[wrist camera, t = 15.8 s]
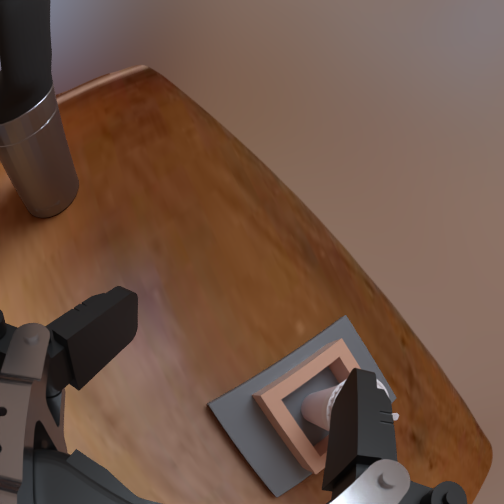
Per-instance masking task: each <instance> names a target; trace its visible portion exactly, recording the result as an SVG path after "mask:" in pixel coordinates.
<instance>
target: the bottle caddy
mask: <svg viewBox="0 0 504 504" xmlns="http://www.w3.org/2000/svg"><path fill="white" fill-rule="evenodd" d="M353 368H358V369H363V370H367V371H371V372H375V374H376V379H377V380H379V381H380V382H381V383H382V384H383V385H384V387H385V388H386V390H387V392H388V395H389V399H390V400H391V403H392V402H393V401H394V400H395V399H396V396H395V395H394V393H393V391H392V390H391V388H390V386H389V384H388V383H387V381H386V379H385V378H384V376H383V374H382V373H381V371H380V369H379V368H378V366H377V364H376V363H375V361H374V359H373V358H372V356H371V355H370V353H369V351H368V350H367V348H366V346H365V345H364V343H363V342H362V340H361V338H360V337H359V335H358V334H357V332H356V330H355V329H354V327H353V326H352V324H351V322H350V321H349V319H348V318H347V316H346V315H345V316H343V317H341V318H339V319H338V320H337V321H335V322H334V323H333V324H331V325H330V326H329V327H327V328H326V329H324V330H323V331H322V332H320V333H319V334H317V335H316V336H315V337H313V338H312V339H310V340H309V341H307V342H306V343H305V344H303V345H302V346H300V347H299V348H297V349H296V350H294V351H293V352H291V353H290V354H288V355H287V356H285V357H284V358H282V359H281V360H279V361H278V362H276V363H274V364H273V365H271V366H270V367H268V368H267V369H265V370H263V371H262V372H260V373H259V374H257V375H255V376H254V377H252V378H250V379H249V380H247V381H245V382H244V383H242V384H240V385H239V386H237V387H235V388H234V389H232V390H230V391H228V392H227V393H225V394H223V395H221V396H220V397H218V398H216V399H214V400H213V401H211V402H209V403H207V404H208V406H209V407H210V409H211V410H212V412H213V413H214V415H215V416H216V418H217V419H218V421H219V422H220V424H221V425H222V427H223V428H224V430H225V431H226V433H227V434H228V436H229V437H230V438H231V440H232V441H233V443H234V444H235V445H236V447H237V448H238V450H239V451H240V452H241V454H242V455H243V456H244V458H245V459H246V460H247V462H248V463H249V464H250V466H251V467H252V468H253V470H254V471H255V472H256V474H257V475H258V476H259V477H260V479H261V480H262V481H263V482H264V484H265V485H266V486H267V487H268V489H269V490H270V491H271V492H272V493H273V494H274V495H275V496H276V497H279V496H280V495H282V494H283V493H285V492H286V491H288V490H289V489H291V488H292V487H294V486H295V485H297V484H298V483H300V482H301V481H303V480H304V479H305V478H307V477H308V476H310V475H311V474H312V473H314V474H317V473H319V472H320V471H321V470H323V469H324V468H325V463H326V455H327V447H328V438H329V431H327V430H325V429H323V428H321V427H319V426H317V425H315V424H313V423H311V422H309V421H307V420H306V419H305V418H304V417H303V415H302V413H301V405H302V402H303V400H304V399H305V398H306V397H307V396H308V395H309V394H311V393H315V392H318V391H321V390H324V389H328V388H331V387H334V386H337V385H339V384H340V383H342V382H343V381H344V380H346V379H347V378H348V376H349V374H350V372H351V371H352V369H353Z"/></svg>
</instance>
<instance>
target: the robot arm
mask: <svg viewBox="0 0 504 504" xmlns="http://www.w3.org/2000/svg"><path fill="white" fill-rule="evenodd" d="M51 50H52V49H51V37H50V0H0V61H1V71H0V161H1V163H2V165H3V167H4V169H5V171H6V173H7V175H8V176H9V178H10V180H11V182H12V184H13V186H14V187H15V189H16V191H17V193H18V194H19V196H20V198H21V200H22V201H23V203H24V205H25V206H26V208H27V209H28V211H29V212H30V213H31V214H32V215H34V216H36V217H40V218H46V217H51V216H54V215H56V214H58V213H60V212H61V211H63V210H64V209H65V208H67V207H68V206H69V205H70V203H71V202H72V201H73V199H74V198H75V196H76V194H77V191H78V187H79V180H78V177H77V174H76V171H75V168H74V164H73V161H72V157H71V154H70V151H69V147H68V144H67V140H66V137H65V133H64V129H63V125H62V121H61V117H60V113H59V109H58V104H57V100H56V96H55V91H54V86H53V80H52V75H51V58H52V51H51ZM137 327H138V296H137V294H136V293H134V292H132V291H130V290H128V289H125V288H123V287H121V286H117V287H115V288H113V289H112V290H110V291H109V292H107V293H106V294H105V293H102V294H98V295H95V296H91V297H90V298H88V299H87V300H85V301H84V302H82V304H79V305H77V306H76V307H74V309H71V310H70V311H68V312H67V313H65V314H64V315H62V316H60V317H59V318H57V319H56V320H54V321H53V322H51V323H50V324H48V325H47V326H43V325H41V324H38V323H28V324H25V325H22V326H20V327H19V328H17V327H14V326H12V325H9V324H6V323H5V320H4V316H3V313H2V311H1V310H0V504H161V503H157V502H153V501H149V500H145V499H142V498H139V497H137V496H136V495H134V494H133V493H132V492H131V491H130V490H129V489H127V488H126V487H125V486H124V485H123V484H122V483H121V482H120V481H118V480H117V479H116V478H115V477H114V476H113V475H112V474H111V473H110V472H109V471H108V470H107V469H105V468H104V467H102V466H101V465H99V464H97V463H96V462H94V461H93V460H91V459H90V458H88V457H87V456H86V455H84V454H83V453H81V452H80V451H78V450H77V449H76V450H75V451H74V452H73V453H72V455H70V454H68V453H67V447H66V443H65V439H64V407H65V387H66V386H67V385H68V384H70V385H72V386H73V387H75V388H76V389H77V390H80V389H81V388H82V387H83V386H85V385H86V384H87V383H88V382H89V381H90V380H91V379H92V378H93V377H94V376H95V375H96V374H97V373H98V372H99V371H100V370H101V369H102V368H103V367H105V366H106V365H107V364H108V363H109V362H110V361H111V360H112V359H113V358H114V357H115V356H116V355H117V354H118V353H119V352H120V351H121V350H123V349H124V348H125V347H126V346H127V345H128V344H129V343H130V342H131V341H132V340H133V338H134V337H135V335H136V332H137ZM393 423H394V422H393V415H392V406H391V400H390V399H389V397H388V395H387V393H386V392H385V390H384V389H380V388H377V380H376V374H375V372H371V371H367V370H363V369H358V368H353V369H352V371H351V372H350V374H349V376H348V378H347V379H346V381H345V383H344V385H343V386H342V388H341V390H340V392H339V393H338V395H337V397H336V399H335V401H334V403H333V406H332V410H331V418H330V429H329V438H328V447H327V455H326V463H325V470H324V477H323V484H322V490H326V491H332V498H331V500H330V501H329V502H328V503H326V504H467V498H466V494H465V492H464V490H463V489H462V487H461V486H460V485H458V484H457V483H455V482H451V481H445V482H442V483H440V484H439V485H437V486H436V487H435V488H429V487H426V486H423V485H421V484H418V483H415V482H413V481H411V480H410V476H409V474H408V472H407V470H406V469H405V468H404V466H402V465H401V464H400V463H398V462H397V452H396V441H395V431H394V425H393Z"/></svg>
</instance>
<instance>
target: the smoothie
mask: <svg viewBox="0 0 504 504" xmlns="http://www.w3.org/2000/svg"><path fill="white" fill-rule="evenodd" d="M376 380H377V379H376ZM345 381H346V380H344V381H343V382H342V383H340V384H339V385H337V386H334V387H331V388H328V389H324V390H321V391H318V392H315V393H311V394H309V395H308V396H307V397H306V398H305V399H304V400H303V402H302V405H301V413H302V415H303V417H304V418H305V419H306V420H307V421H309V422H311V423H313V424H315V425H317V426H319V427H321V428H323V429H325V430H327V431H329V429H330V418H331V410H332V406H333V403H334V401H335V399H336V397H337V395H338V393H339V392H340V390H341V388H342V386H343V385H344V383H345ZM377 388H380V389H384V390H385V392H386V393H387V395H388V392H387V390H386V388H385V387H384V385H383V384H382V383H381V382H380V381H379V380H377ZM388 397H389V395H388ZM392 415H393V420H397V419H398V417H399V415H398V414H397V413H392Z"/></svg>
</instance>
